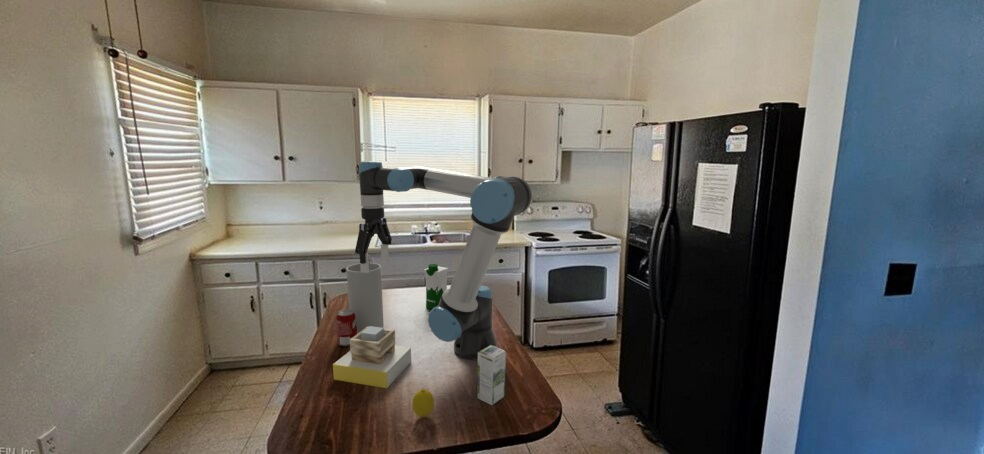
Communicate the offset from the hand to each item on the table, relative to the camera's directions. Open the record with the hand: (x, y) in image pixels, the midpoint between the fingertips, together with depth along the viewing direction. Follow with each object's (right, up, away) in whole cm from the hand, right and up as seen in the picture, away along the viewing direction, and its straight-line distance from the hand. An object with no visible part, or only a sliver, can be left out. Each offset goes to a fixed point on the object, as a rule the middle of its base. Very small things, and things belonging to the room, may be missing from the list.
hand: (375, 267), depth 147 cm
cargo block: (+3, -22, -15) cm, 27 cm away
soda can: (-11, -28, +5) cm, 31 cm away
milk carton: (+16, -22, +40) cm, 48 cm away
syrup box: (+41, -35, -28) cm, 60 cm away
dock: (+3, -32, -13) cm, 34 cm away
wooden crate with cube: (+3, -27, -14) cm, 30 cm away
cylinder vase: (-8, -26, +18) cm, 33 cm away
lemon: (+23, -36, -36) cm, 56 cm away
